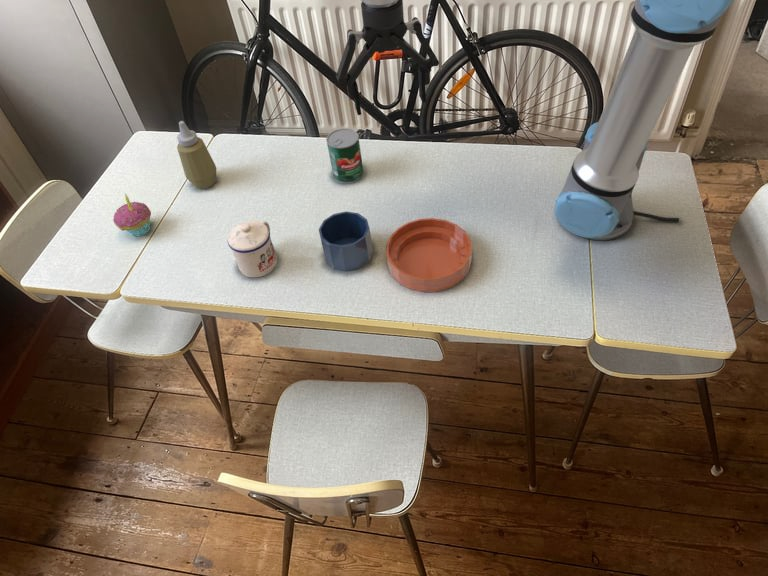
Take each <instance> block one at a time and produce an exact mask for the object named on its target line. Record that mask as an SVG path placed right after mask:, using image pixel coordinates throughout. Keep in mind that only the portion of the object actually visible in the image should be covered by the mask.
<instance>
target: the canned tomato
mask: <svg viewBox="0 0 768 576" xmlns="http://www.w3.org/2000/svg"><path fill="white" fill-rule="evenodd" d="M359 137H360V135H359V134H358V132H357V131H356V130H354V129H352V128H347V127H346V128H338V129H335V130H332V131H331V132H329V134H328V135H327V136H326V139H325V141H326V145H327V150H328V151H327V152H328V155H329V160H330V167H331V172H332V177H333V179H334V180H335V181H336V182H338V183H340V184H354V183H356V182H358V181H359V180H361V179H362V178H363V176H364V173H365V172H364V165H363V160H362V159H363V158H362V153H361V146H360V145H361V144H360V138H359Z"/></svg>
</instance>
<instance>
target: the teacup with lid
mask: <svg viewBox="0 0 768 576" xmlns="http://www.w3.org/2000/svg"><path fill="white" fill-rule="evenodd" d="M227 244H228V245H227V246H228V247H229V248H230V250H231V251H232V254H233V257H234V259H235V261H236V264H237V267H238V269H239V271H240V273H241V274H242V275H244V276H246V277H248V278H261V277H264V276H266V275H269V274H270V273H271V272H272V271H274V269H275V268H276V266H277V263H278V256H277V253H276V250H275V248H274V244H273V241H272V238H271V228H270V224H269V222H268V221H263V220H262V221H257V220H248V221H244V222H241V223H238V224H237V225H235V226H234V227H232V229H231V230H230V231H229V233H228V236H227Z"/></svg>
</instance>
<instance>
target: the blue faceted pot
mask: <svg viewBox="0 0 768 576" xmlns="http://www.w3.org/2000/svg"><path fill="white" fill-rule="evenodd" d="M368 221H369V220H368V219H367V218H366V217H364V216H363V215H362V214H360V213H359V212H352V211H347V210H346V211H341V212H337V213H333V214H332V215H330V216H328V217H327V218H325V219H324V220H323V221H322V222H321V224H320V226H319V228H318V233H319V237H320V243H321V246H322V247H321V248H322V251H323V254H324V259H325V264H326V265H327V266H328V267H330V268H332V269H333V270H335V271H336V270H337V271H341V272H350V271H355V270H359V269H361V268H363V267H364V266H365V265H367V264H368V263H369V262H370V261H371V258H372V256H373V254H374V250H373V243H372V236H371V228H370V225H369V222H368Z"/></svg>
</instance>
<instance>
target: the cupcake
mask: <svg viewBox="0 0 768 576" xmlns="http://www.w3.org/2000/svg"><path fill="white" fill-rule="evenodd" d="M124 199H125V201H126V203H125V204H122V205H121V206H119V207H118V208H117V209H116V211H115V212H114V216H113V219H112V220H113V224H114V225H115V226H116V227H117V228H118V229H119V230H121V231H126V232H128V234H130V235H131V236H132V237H142V236H145V235H146V234H147V233H148V232H149V231H150V229H151V224H150V223H151V221H150V220H151V216H152V212H151V210H150V208H149V207H148V205H147V204H145V203H144V202H139V201H131V200H130V199H129V196H128V195H127V193H125V194H124Z"/></svg>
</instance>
